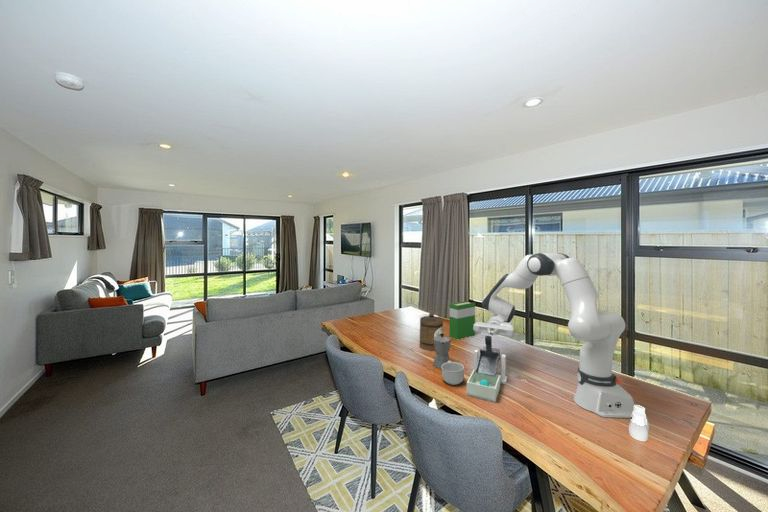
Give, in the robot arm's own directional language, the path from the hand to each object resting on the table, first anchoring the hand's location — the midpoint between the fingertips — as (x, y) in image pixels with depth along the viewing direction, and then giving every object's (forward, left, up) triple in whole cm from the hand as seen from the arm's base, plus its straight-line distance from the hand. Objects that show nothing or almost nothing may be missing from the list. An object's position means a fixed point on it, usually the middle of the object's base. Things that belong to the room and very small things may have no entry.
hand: (491, 333), depth 150 cm
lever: (+1, +6, -15) cm, 16 cm away
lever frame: (+1, +5, -21) cm, 22 cm away
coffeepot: (+25, -5, -21) cm, 34 cm away
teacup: (+19, +12, -22) cm, 31 cm away
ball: (+5, +18, -18) cm, 26 cm away
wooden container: (+33, -32, -22) cm, 51 cm away
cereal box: (+13, -57, -21) cm, 63 cm away
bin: (+5, +19, -21) cm, 29 cm away
